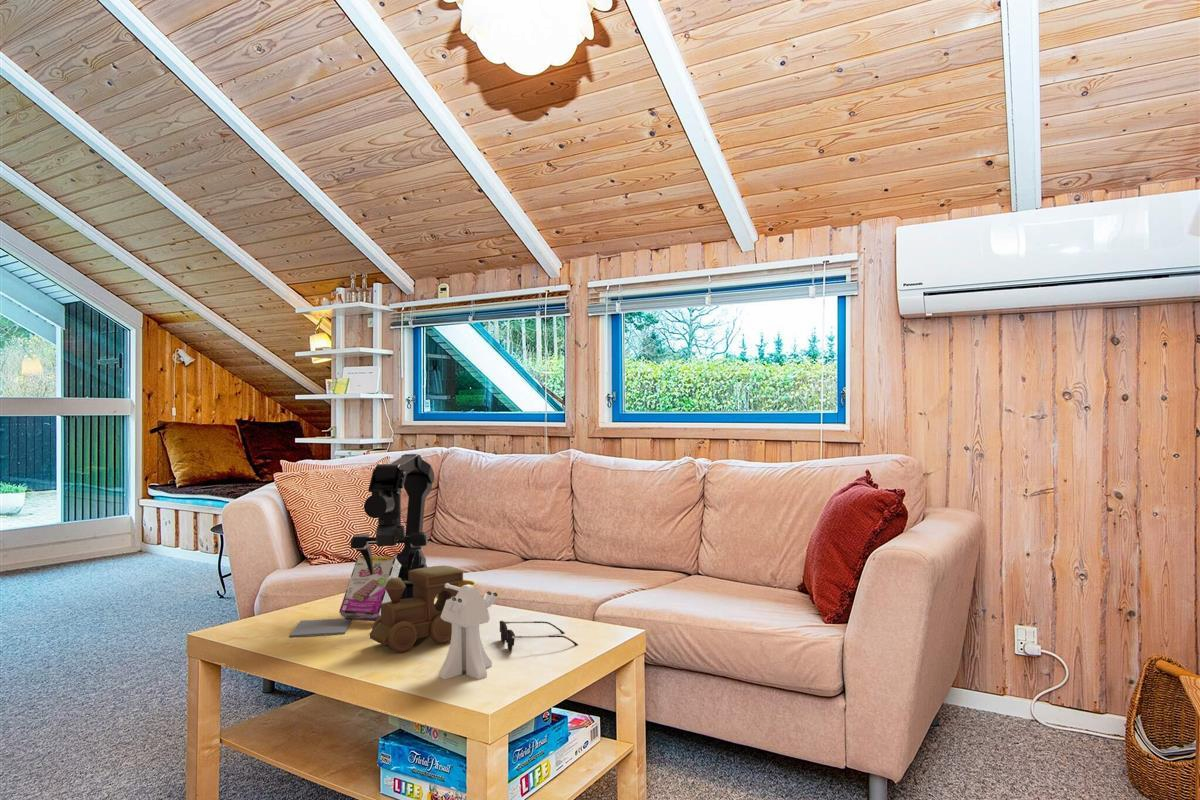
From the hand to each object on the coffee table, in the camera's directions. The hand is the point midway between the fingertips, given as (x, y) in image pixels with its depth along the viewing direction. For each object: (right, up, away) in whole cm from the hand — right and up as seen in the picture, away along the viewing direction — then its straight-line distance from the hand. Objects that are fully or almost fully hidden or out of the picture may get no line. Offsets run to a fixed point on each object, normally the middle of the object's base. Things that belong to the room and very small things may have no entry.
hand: (390, 573), depth 205 cm
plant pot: (+17, -13, +2) cm, 21 cm away
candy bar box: (-7, -11, 0) cm, 13 cm away
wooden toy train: (+11, -13, -17) cm, 24 cm away
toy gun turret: (+26, -12, -38) cm, 48 cm away
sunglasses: (+40, -13, -19) cm, 46 cm away
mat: (-17, -13, -3) cm, 21 cm away
